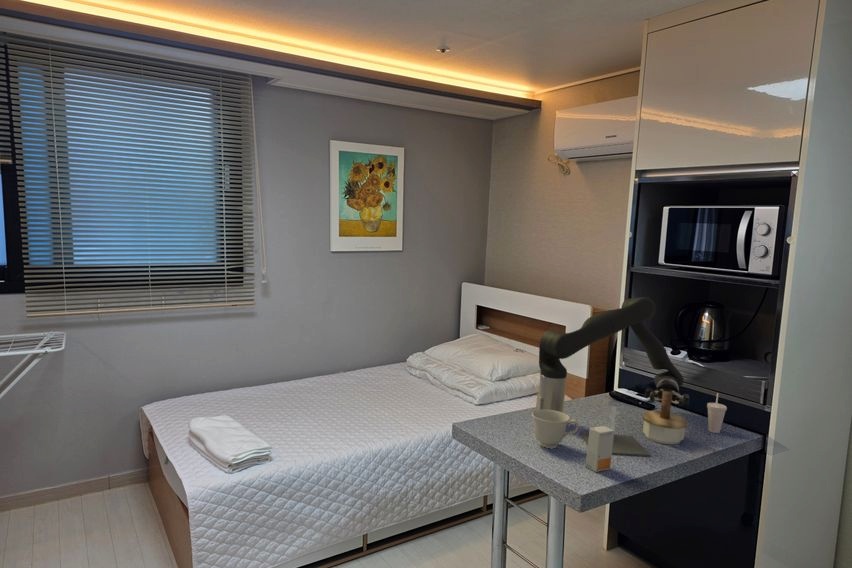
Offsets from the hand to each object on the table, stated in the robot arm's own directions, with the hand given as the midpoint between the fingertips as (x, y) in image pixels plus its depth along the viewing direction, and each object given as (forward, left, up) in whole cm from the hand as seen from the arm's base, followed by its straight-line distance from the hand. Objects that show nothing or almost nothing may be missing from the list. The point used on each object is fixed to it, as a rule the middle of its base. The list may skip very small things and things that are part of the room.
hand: (666, 401), depth 190 cm
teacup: (-41, -13, -13) cm, 45 cm away
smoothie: (+23, +10, -13) cm, 28 cm away
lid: (0, 0, -7) cm, 7 cm away
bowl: (0, 0, -13) cm, 13 cm away
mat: (-20, -9, -13) cm, 25 cm away
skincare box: (-31, -28, -13) cm, 44 cm away
